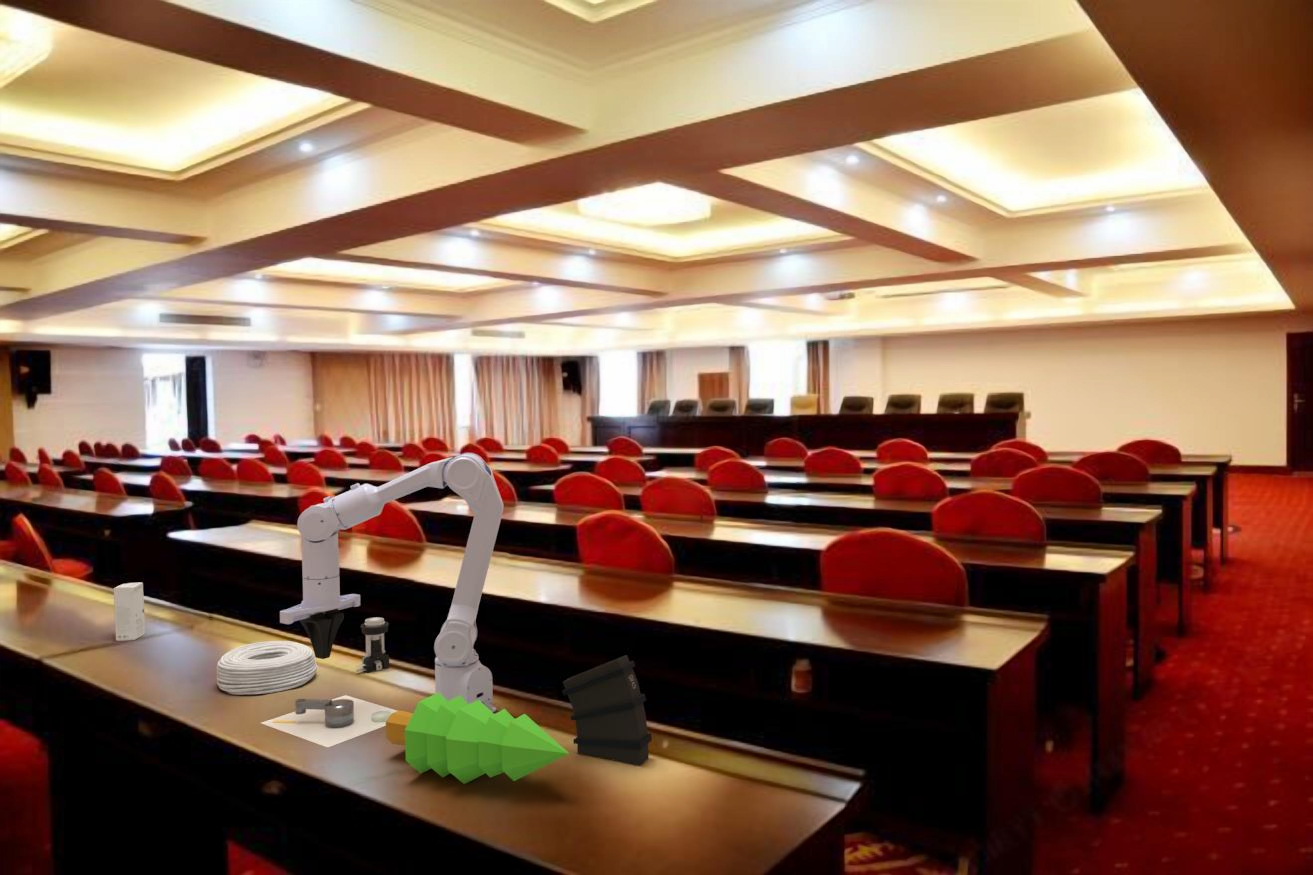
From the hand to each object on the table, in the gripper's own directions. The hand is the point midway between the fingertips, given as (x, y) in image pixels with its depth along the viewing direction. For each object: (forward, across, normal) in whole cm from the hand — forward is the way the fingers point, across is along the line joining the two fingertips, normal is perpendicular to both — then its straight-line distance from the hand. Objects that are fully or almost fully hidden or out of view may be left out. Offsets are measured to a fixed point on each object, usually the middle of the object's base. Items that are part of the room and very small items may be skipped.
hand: (322, 657), depth 142 cm
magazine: (+11, -10, +49) cm, 52 cm away
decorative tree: (+11, +6, +38) cm, 40 cm away
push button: (+11, -23, -14) cm, 29 cm away
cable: (+11, -8, -26) cm, 29 cm away
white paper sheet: (+10, +1, +4) cm, 11 cm away
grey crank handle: (+9, +3, +4) cm, 10 cm away
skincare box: (+11, -14, -82) cm, 84 cm away
